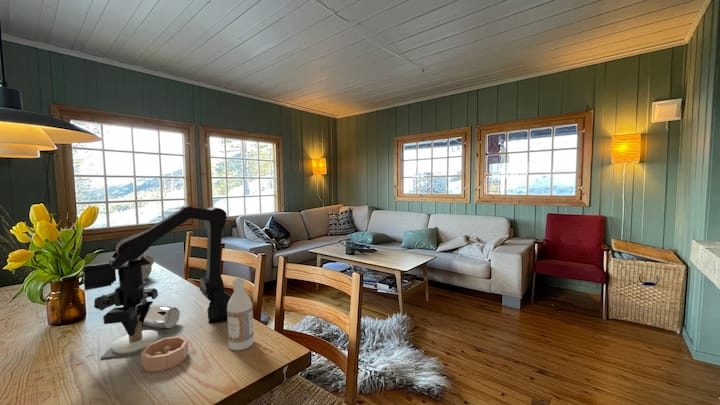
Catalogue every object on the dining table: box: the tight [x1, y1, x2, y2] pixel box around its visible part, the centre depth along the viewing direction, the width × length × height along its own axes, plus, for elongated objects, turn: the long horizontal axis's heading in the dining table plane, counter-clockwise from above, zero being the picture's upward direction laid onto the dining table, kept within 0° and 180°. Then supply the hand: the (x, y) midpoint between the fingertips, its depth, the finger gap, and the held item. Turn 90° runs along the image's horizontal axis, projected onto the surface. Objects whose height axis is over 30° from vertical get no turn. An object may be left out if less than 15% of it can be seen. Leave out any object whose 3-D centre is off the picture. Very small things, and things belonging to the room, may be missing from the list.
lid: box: [111, 321, 159, 354], centre depth 89 cm, size 11×11×6 cm
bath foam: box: [227, 277, 255, 352], centre depth 88 cm, size 7×7×20 cm
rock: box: [117, 251, 155, 281], centre depth 146 cm, size 15×18×15 cm
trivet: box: [100, 330, 167, 360], centre depth 89 cm, size 12×12×1 cm
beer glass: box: [143, 305, 181, 329], centre depth 101 cm, size 7×7×15 cm
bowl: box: [140, 335, 189, 373], centre depth 81 cm, size 10×10×4 cm
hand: (135, 331), depth 89 cm, fingers open, 4 cm apart
